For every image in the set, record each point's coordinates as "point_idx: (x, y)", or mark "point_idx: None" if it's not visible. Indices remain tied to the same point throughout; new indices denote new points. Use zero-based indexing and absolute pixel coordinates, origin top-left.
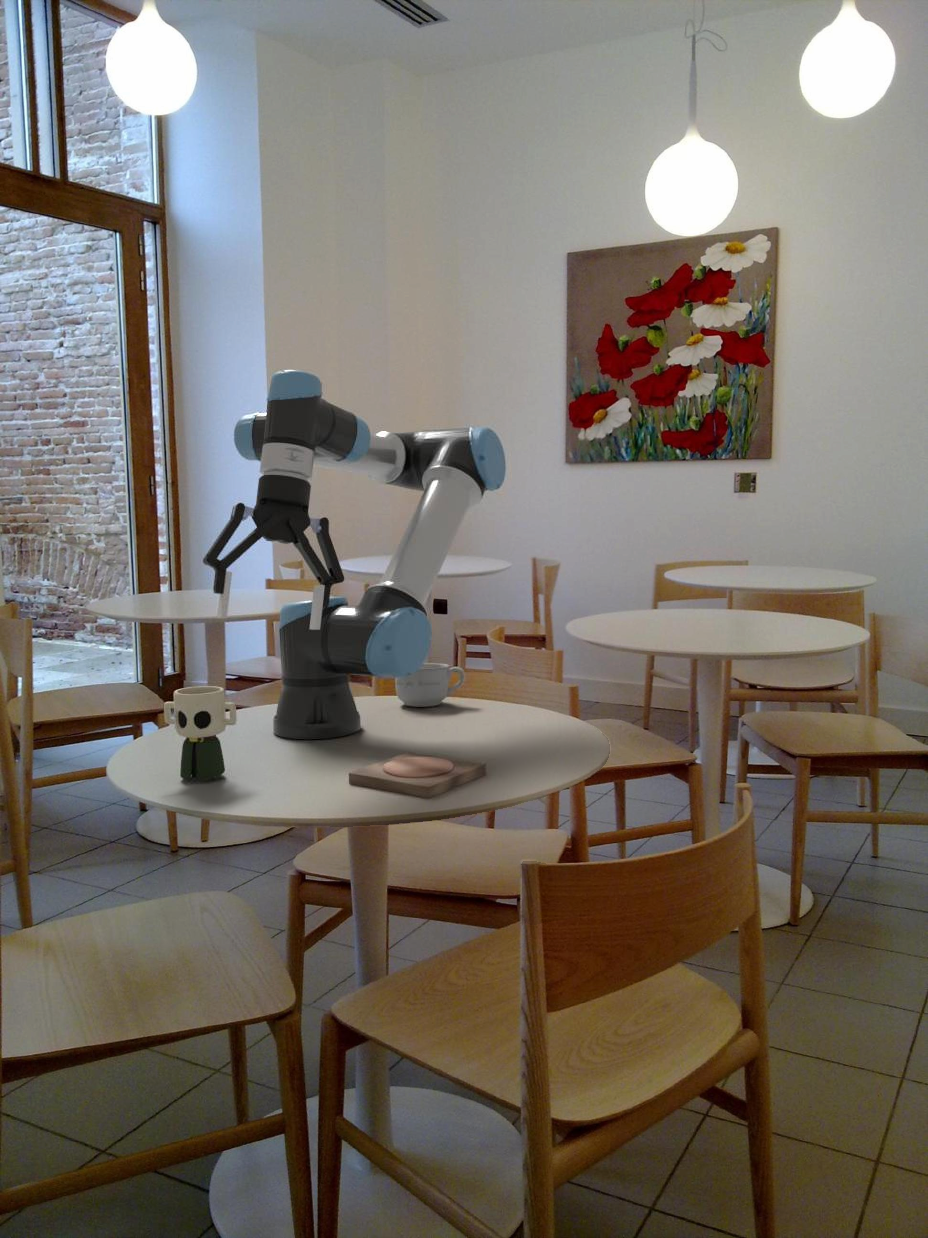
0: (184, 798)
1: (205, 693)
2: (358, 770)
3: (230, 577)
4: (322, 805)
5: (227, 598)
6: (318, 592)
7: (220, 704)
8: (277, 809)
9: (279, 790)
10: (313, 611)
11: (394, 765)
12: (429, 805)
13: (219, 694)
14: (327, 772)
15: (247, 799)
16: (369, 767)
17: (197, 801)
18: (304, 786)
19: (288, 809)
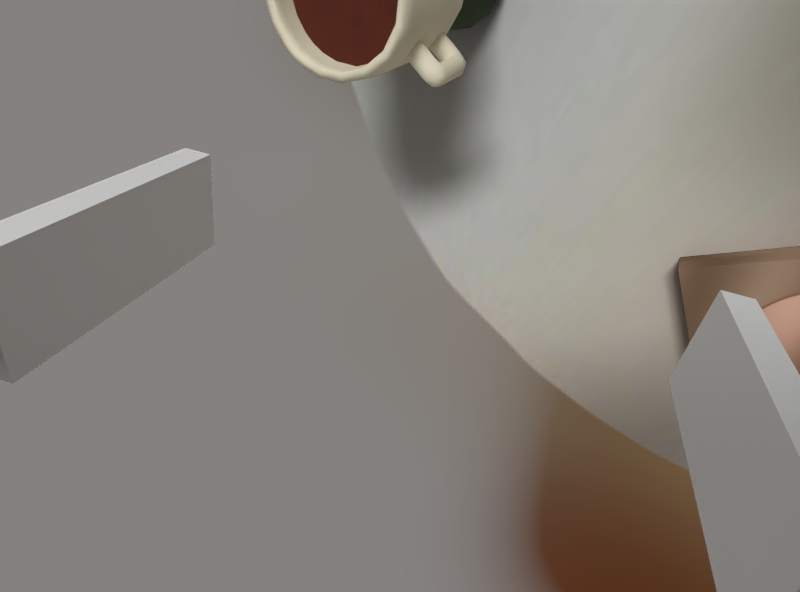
0: (381, 103)
1: (334, 73)
2: (711, 272)
3: (43, 357)
4: (543, 314)
5: (142, 288)
6: (723, 569)
7: (400, 61)
8: (477, 275)
9: (539, 189)
10: (724, 399)
11: (791, 325)
12: (671, 440)
13: (381, 70)
14: (724, 143)
15: (465, 194)
16: (755, 272)
17: (394, 139)
18: (594, 203)
19: (490, 288)
